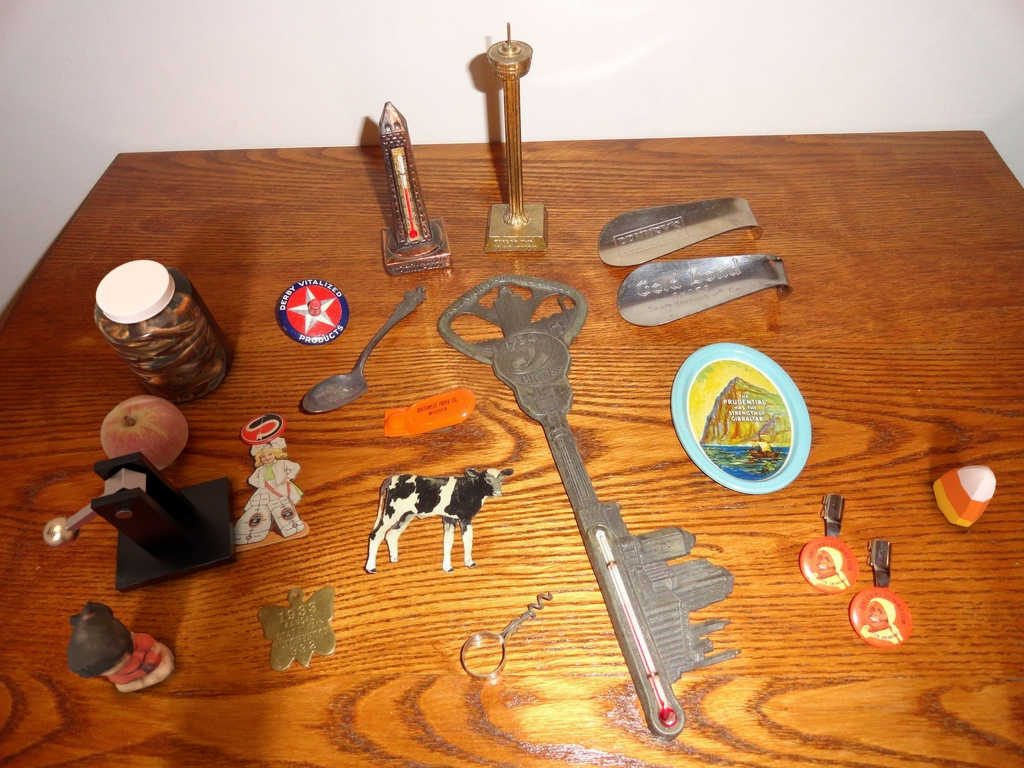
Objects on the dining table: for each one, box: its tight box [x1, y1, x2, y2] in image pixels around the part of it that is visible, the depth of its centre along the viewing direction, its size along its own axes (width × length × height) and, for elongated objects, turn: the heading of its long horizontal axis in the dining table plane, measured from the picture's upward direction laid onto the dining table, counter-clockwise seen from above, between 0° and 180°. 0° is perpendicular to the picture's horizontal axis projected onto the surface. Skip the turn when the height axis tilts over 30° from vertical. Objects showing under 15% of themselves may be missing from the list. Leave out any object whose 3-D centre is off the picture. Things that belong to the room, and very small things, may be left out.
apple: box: [100, 394, 189, 471], centre depth 80 cm, size 9×9×8 cm
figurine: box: [66, 600, 176, 693], centre depth 64 cm, size 6×6×12 cm
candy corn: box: [932, 465, 997, 528], centre depth 72 cm, size 6×3×8 cm, turn 5°
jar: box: [93, 259, 234, 403], centre depth 84 cm, size 12×12×15 cm
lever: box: [42, 468, 146, 549], centre depth 69 cm, size 13×3×3 cm, turn 106°
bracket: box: [90, 451, 237, 594], centre depth 71 cm, size 12×10×14 cm
